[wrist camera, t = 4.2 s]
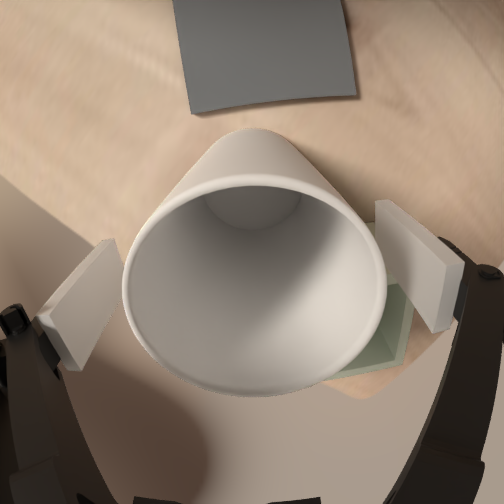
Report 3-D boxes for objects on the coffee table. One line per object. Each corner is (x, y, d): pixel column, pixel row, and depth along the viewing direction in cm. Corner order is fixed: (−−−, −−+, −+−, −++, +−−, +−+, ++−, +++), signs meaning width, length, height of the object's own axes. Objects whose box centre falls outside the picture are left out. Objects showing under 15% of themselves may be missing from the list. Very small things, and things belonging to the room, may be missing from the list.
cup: (305, 126, 21) (407, 176, 7) (305, 229, 25) (363, 388, 11) (194, 131, 22) (92, 190, 7) (203, 233, 25) (155, 396, 11)
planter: (273, 235, 25) (281, 290, 18) (378, 221, 25) (420, 268, 18) (283, 321, 29) (292, 385, 22) (373, 306, 29) (402, 364, 22)
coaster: (170, -23, 16) (169, -26, 15) (327, -40, 15) (329, -43, 14) (192, 114, 21) (191, 114, 20) (353, 95, 20) (356, 95, 20)
